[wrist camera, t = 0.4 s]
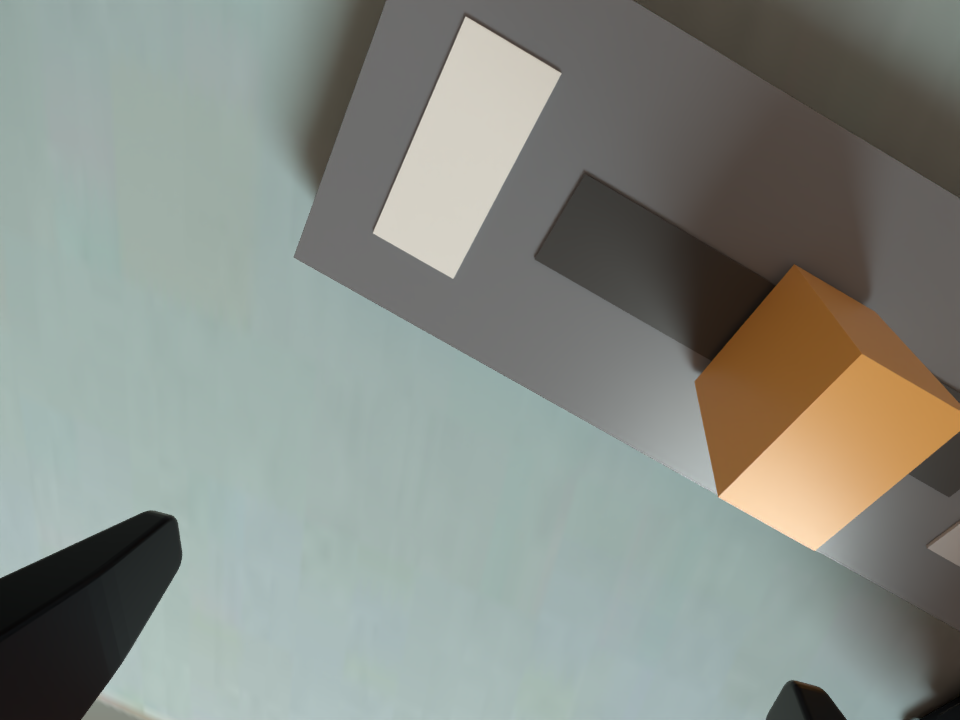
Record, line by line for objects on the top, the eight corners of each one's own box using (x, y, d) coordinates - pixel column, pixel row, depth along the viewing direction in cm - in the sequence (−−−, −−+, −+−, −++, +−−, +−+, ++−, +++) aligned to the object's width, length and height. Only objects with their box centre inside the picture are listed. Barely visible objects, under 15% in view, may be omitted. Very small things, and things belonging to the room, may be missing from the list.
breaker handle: (875, 312, 15) (974, 419, 11) (766, 423, 17) (814, 551, 13) (794, 263, 15) (862, 353, 11) (694, 381, 17) (718, 497, 13)
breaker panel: (1207, 355, 17) (1315, 413, 15) (921, 562, 22) (963, 634, 20) (461, -97, 16) (429, -124, 13) (334, 230, 21) (291, 258, 18)
